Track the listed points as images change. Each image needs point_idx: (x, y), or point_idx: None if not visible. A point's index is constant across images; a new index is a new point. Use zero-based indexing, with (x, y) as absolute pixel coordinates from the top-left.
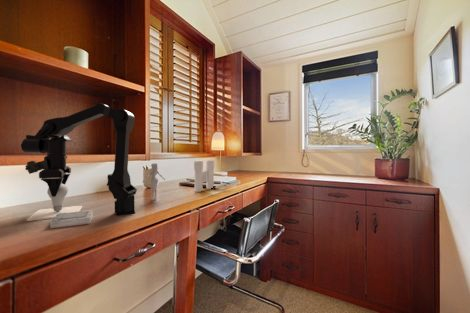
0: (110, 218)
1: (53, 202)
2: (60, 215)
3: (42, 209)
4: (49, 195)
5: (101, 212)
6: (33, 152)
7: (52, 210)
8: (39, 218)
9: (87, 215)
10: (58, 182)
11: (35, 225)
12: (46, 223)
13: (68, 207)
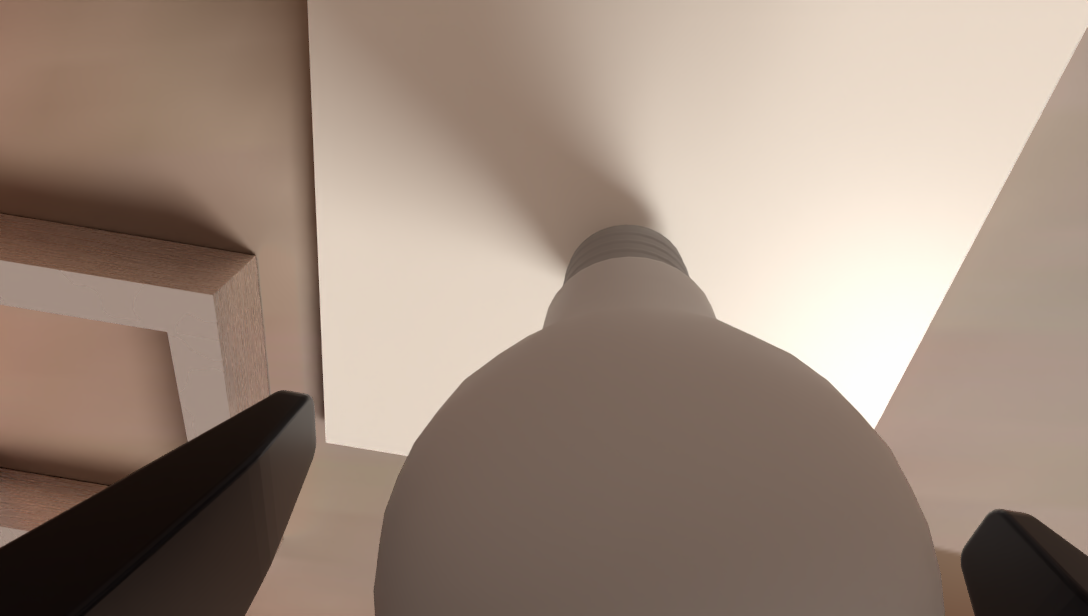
0: None
1: (568, 301)
2: (102, 317)
3: (1069, 16)
4: (528, 338)
5: (373, 600)
6: None
7: (797, 190)
8: (313, 31)
9: (2, 530)
10: None
11: (7, 6)
12: (78, 135)
13: (845, 388)
